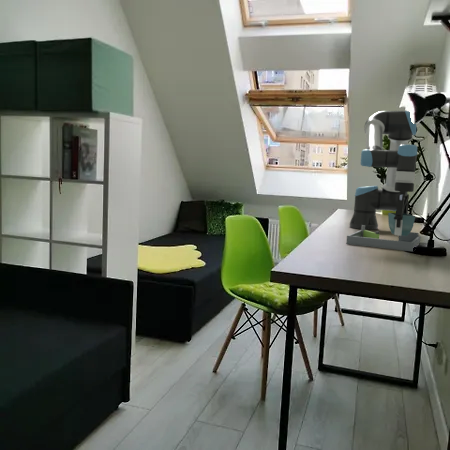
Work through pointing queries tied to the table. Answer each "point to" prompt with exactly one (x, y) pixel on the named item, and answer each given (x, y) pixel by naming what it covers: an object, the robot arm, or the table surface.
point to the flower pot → (406, 225)
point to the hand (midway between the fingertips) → (399, 234)
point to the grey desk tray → (384, 241)
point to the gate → (371, 234)
